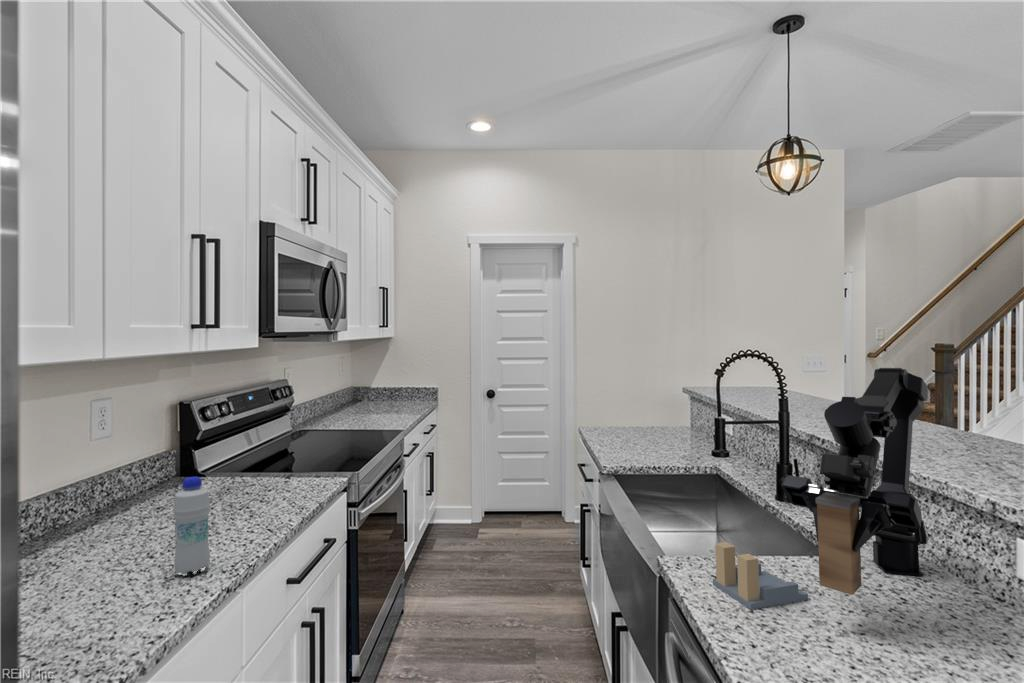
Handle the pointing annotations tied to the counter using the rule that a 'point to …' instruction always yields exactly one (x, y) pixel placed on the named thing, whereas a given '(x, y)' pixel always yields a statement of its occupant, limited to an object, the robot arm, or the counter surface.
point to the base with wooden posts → (751, 581)
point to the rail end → (838, 542)
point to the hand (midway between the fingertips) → (836, 545)
